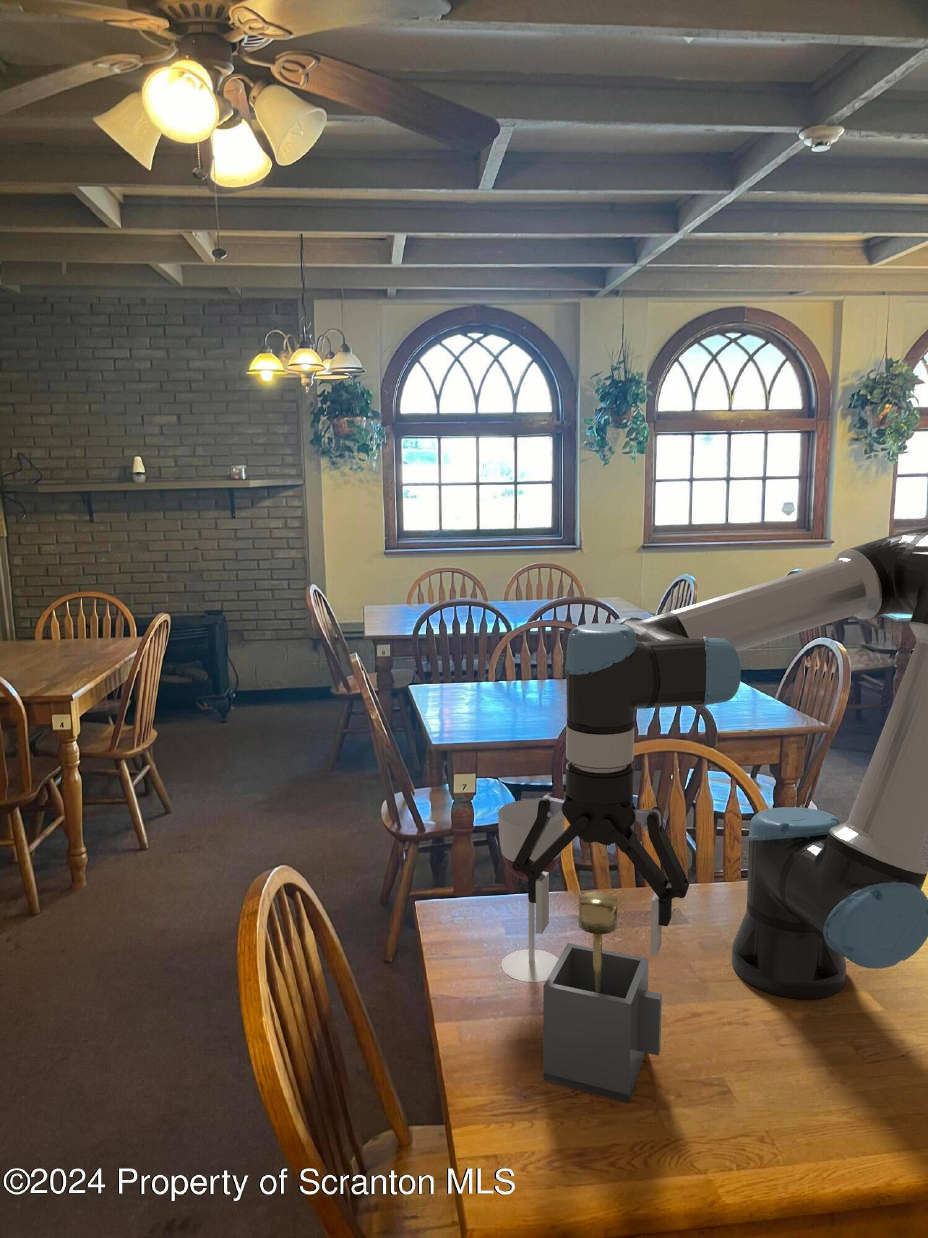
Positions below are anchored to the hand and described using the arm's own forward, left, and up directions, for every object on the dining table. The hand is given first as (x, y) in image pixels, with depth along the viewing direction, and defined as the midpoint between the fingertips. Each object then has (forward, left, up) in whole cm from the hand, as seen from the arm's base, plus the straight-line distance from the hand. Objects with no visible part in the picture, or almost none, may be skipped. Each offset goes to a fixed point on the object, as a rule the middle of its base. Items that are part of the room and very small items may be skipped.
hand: (597, 939), depth 103 cm
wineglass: (+14, -18, -16) cm, 28 cm away
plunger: (0, 0, -14) cm, 14 cm away
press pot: (-1, 0, -16) cm, 16 cm away
